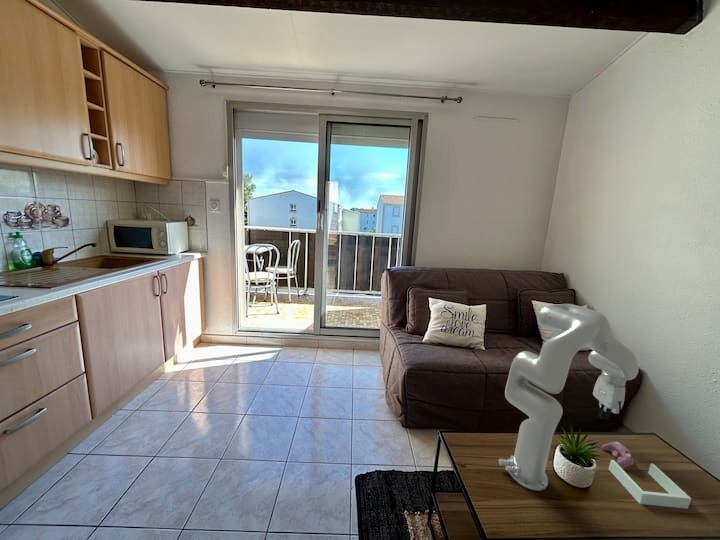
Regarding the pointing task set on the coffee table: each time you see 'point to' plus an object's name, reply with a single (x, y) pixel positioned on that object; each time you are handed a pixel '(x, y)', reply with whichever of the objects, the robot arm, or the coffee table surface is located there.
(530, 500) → the coffee table surface
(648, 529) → the coffee table surface
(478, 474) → the coffee table surface
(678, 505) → the box
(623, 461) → the video game controller
